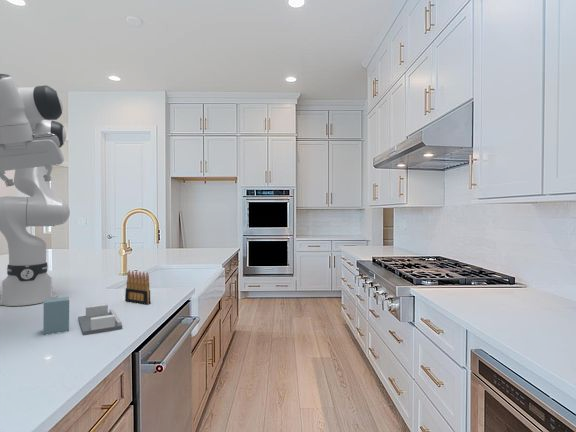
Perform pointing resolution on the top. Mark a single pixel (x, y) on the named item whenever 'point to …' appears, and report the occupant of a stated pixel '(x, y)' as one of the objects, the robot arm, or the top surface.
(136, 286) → the ammunition clip
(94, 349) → the top surface
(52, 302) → the block
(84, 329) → the mounting board
